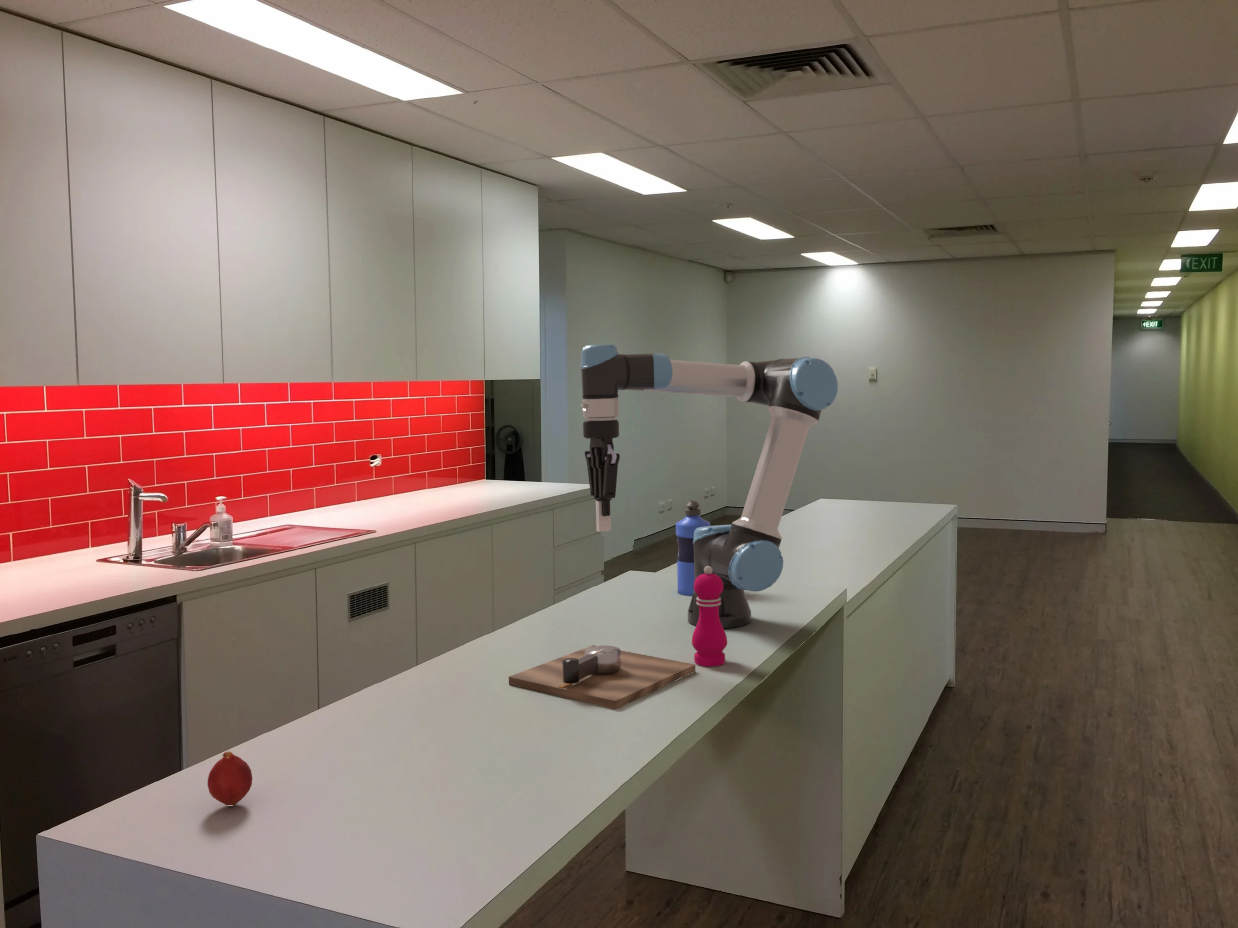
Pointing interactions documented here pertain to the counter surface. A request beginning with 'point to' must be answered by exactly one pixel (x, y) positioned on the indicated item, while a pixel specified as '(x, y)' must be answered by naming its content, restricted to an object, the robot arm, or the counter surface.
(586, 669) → the dark grey dumbbell shape
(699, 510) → the water bottle
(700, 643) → the pepper mill
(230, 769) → the onion
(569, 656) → the wooden cutting board
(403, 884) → the counter surface
